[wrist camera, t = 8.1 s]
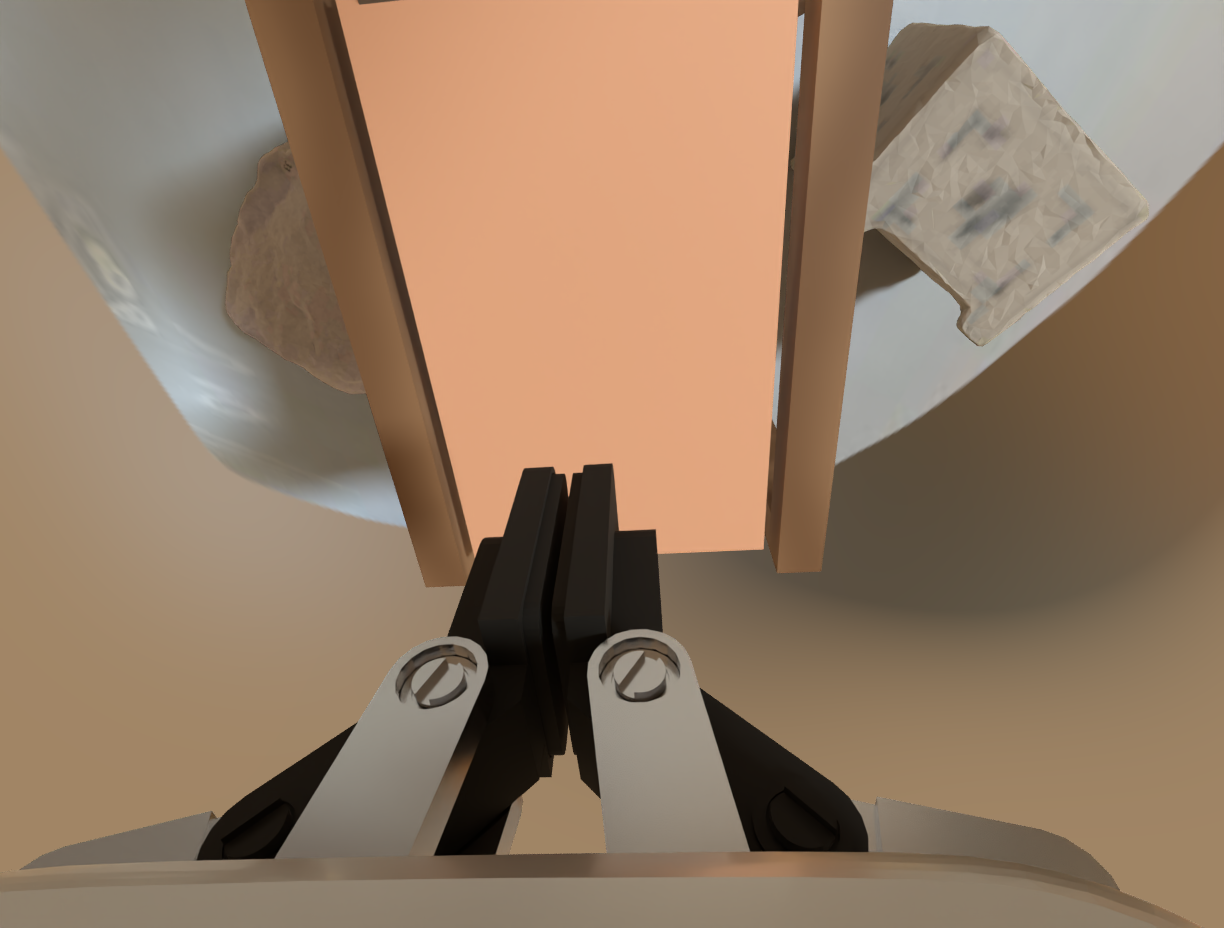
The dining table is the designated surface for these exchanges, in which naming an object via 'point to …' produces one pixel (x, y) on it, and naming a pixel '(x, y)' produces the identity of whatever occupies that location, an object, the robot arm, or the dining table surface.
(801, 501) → the stand
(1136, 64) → the dining table surface
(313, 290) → the stone block
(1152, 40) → the dining table surface
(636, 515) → the trapdoor
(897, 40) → the white speckled block
